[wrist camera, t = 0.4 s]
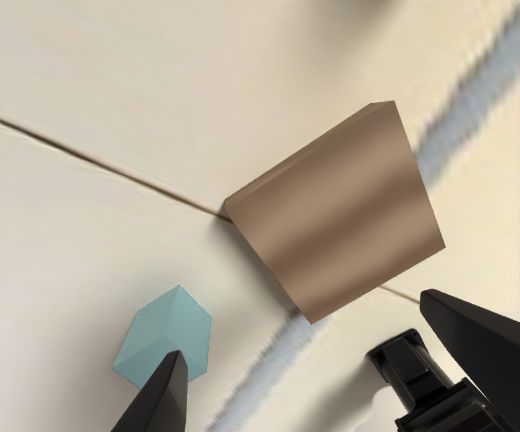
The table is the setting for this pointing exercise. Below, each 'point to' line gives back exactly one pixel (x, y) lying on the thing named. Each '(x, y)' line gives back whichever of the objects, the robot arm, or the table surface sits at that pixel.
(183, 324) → the teal block
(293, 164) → the plinth
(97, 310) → the table surface
